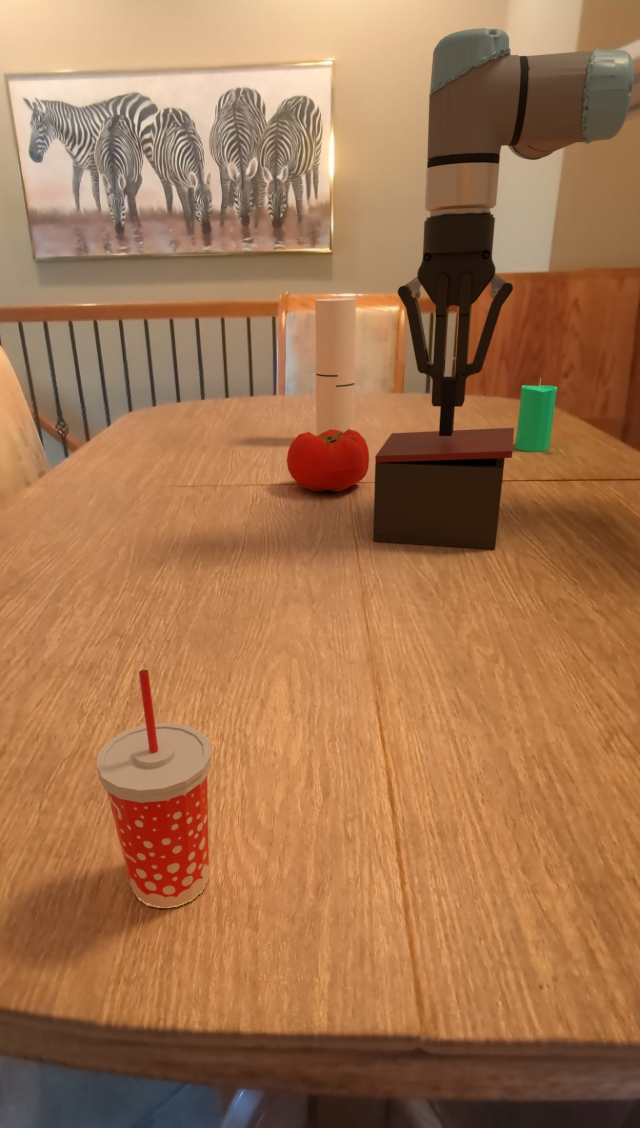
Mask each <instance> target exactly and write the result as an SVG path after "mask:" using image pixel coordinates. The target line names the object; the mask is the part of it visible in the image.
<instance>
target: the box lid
mask: <svg viewBox="0 0 640 1128" xmlns="http://www.w3.org/2000/svg"><path fill="white" fill-rule="evenodd" d="M514 435H515V429H514V427H500V428H498V427H497V428H477V429H458V430H457V429H455V430H454V429H453V433H452V436H439V430H438V431H437V430H436V431H435V430H433V431H432V430H431V431H414V432H413V431H412V432H410V431H409V432H391V433H390V435H389V436H388V438H387V439H386V440H385V442H384V443H383V445H382V446H381V447H380V449H379V450H378V452H377V453H376V455H375V457H374V459H375V463H377V462H406V461H435V460H464V459H493V458H505V459H512V458H513V447H514Z"/></svg>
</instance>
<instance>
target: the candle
mask: <svg viewBox="0 0 640 1128" xmlns="http://www.w3.org/2000/svg"><path fill="white" fill-rule="evenodd" d="M541 382H542V377H540V378H539V384H538V385H526V384H525V385H524V384H523V385H521V391H520V399H519V400H520V401H519V410H518V418H517V427H516V428H517V429H516V436H515V444H514V449H517V450H518V451H523V452H532V453H533V452H535V453H537V452H538V453H539V452H546V451H549V450H550V446H551V445H550V444H551V438H552V430H553V421H554V416H555V415H554V414H555V408H556V400H557V392H558V386H554V385H541Z"/></svg>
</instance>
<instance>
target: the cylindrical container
mask: <svg viewBox="0 0 640 1128" xmlns="http://www.w3.org/2000/svg"><path fill="white" fill-rule="evenodd" d="M314 302H315V303H314V304H315V305H314V308H315V309H314V310H315V391H316V392H315V405H316V406H315V410H316V411H315V413H316V416H315V417H316V422H315V423H316V425H315V426H316V436H319V435H320V434H321V433H323V432H326V431H328V430H330V429H332V430H340V431H341V432H342V431H343V432H342V433H344V432H345V431H346V430H348V429H350V430H354V431H355V406H356V405H355V404H356V403H355V402H356V401H355V398H356V397H355V393H356V389H355V388H356V326H357V325H356V320H357V319H356V318H357V317H356V316H357V315H356V314H357V313H356V312H357V299H356V298H354V297H337V298H335V297H332V298H319V299H314Z"/></svg>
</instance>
